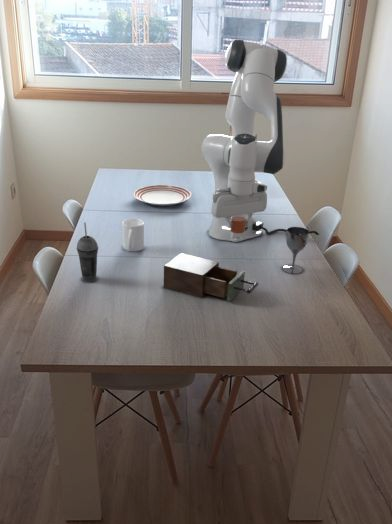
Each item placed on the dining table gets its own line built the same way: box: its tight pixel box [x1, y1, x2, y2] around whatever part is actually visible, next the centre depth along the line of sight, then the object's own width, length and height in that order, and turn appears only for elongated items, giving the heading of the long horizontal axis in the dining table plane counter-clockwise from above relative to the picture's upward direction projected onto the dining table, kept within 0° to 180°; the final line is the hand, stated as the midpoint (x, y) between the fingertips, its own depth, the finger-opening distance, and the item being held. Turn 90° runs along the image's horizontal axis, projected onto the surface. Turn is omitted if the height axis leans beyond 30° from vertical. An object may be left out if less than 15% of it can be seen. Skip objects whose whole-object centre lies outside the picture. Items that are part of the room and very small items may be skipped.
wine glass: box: [282, 226, 310, 274], centre depth 211 cm, size 8×8×15 cm
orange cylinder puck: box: [230, 216, 246, 233], centre depth 200 cm, size 5×5×4 cm
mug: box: [121, 218, 145, 253], centre depth 222 cm, size 12×8×10 cm
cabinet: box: [163, 252, 220, 298], centre depth 198 cm, size 15×13×8 cm
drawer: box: [203, 266, 259, 302], centre depth 193 cm, size 19×11×6 cm, turn 64°
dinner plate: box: [133, 184, 192, 207], centre depth 276 cm, size 28×27×3 cm
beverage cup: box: [76, 222, 99, 283], centre depth 196 cm, size 7×7×20 cm
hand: (237, 226), depth 200 cm, fingers closed on orange cylinder puck, 5 cm apart
